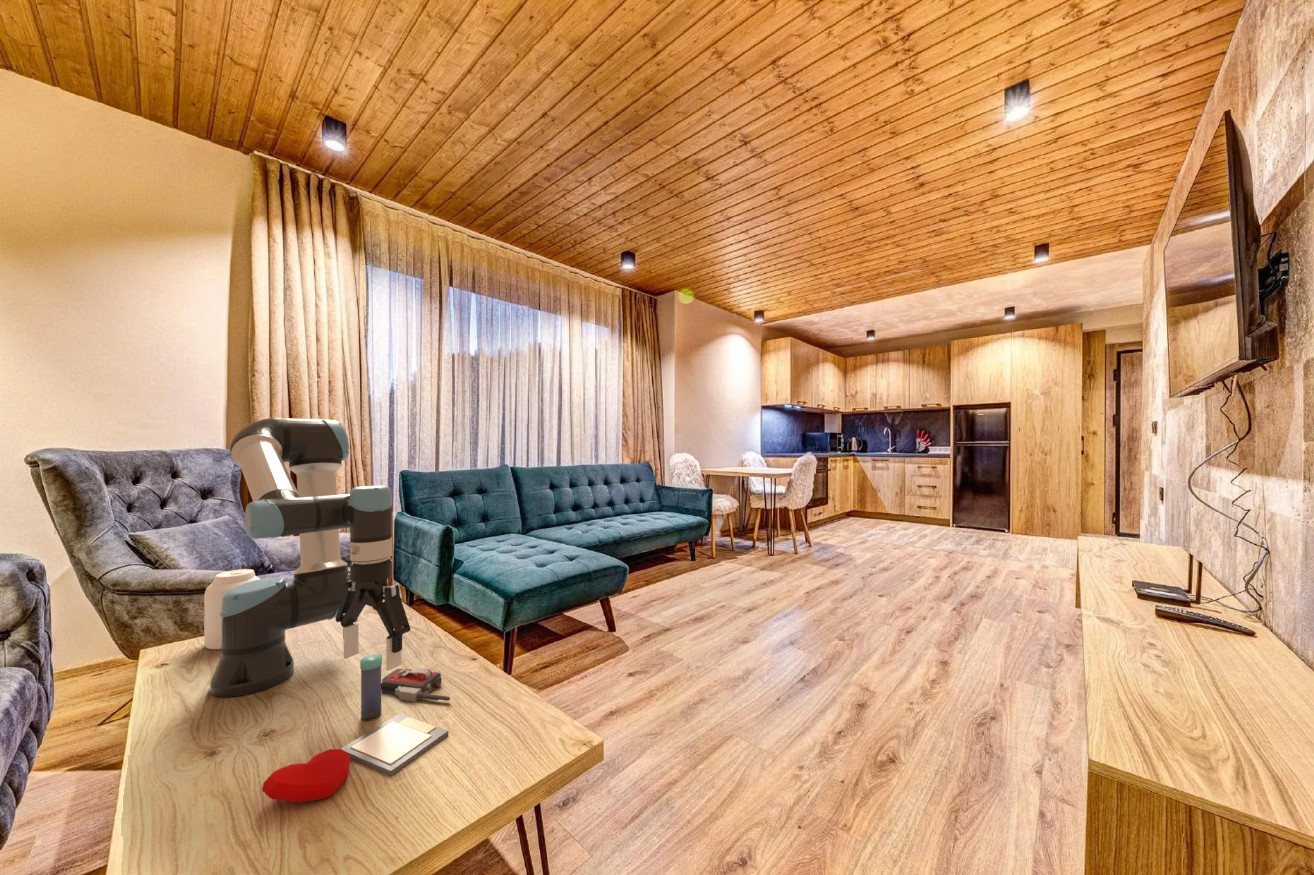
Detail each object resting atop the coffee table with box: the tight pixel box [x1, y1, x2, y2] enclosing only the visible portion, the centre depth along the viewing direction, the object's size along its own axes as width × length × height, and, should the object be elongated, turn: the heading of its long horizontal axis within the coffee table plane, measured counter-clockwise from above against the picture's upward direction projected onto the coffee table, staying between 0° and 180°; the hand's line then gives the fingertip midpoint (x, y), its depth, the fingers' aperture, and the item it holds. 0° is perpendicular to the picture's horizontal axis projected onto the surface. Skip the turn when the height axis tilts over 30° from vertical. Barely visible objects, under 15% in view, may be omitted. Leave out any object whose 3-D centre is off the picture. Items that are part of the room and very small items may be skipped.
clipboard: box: [340, 713, 449, 776], centre depth 87 cm, size 14×12×1 cm
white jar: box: [203, 568, 261, 650], centre depth 133 cm, size 12×12×20 cm
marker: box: [359, 653, 383, 722], centre depth 96 cm, size 4×4×12 cm
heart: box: [261, 748, 351, 803], centre depth 76 cm, size 12×4×10 cm
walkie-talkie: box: [381, 667, 451, 703], centre depth 106 cm, size 9×4×20 cm
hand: (371, 661), depth 96 cm, fingers open, 13 cm apart
